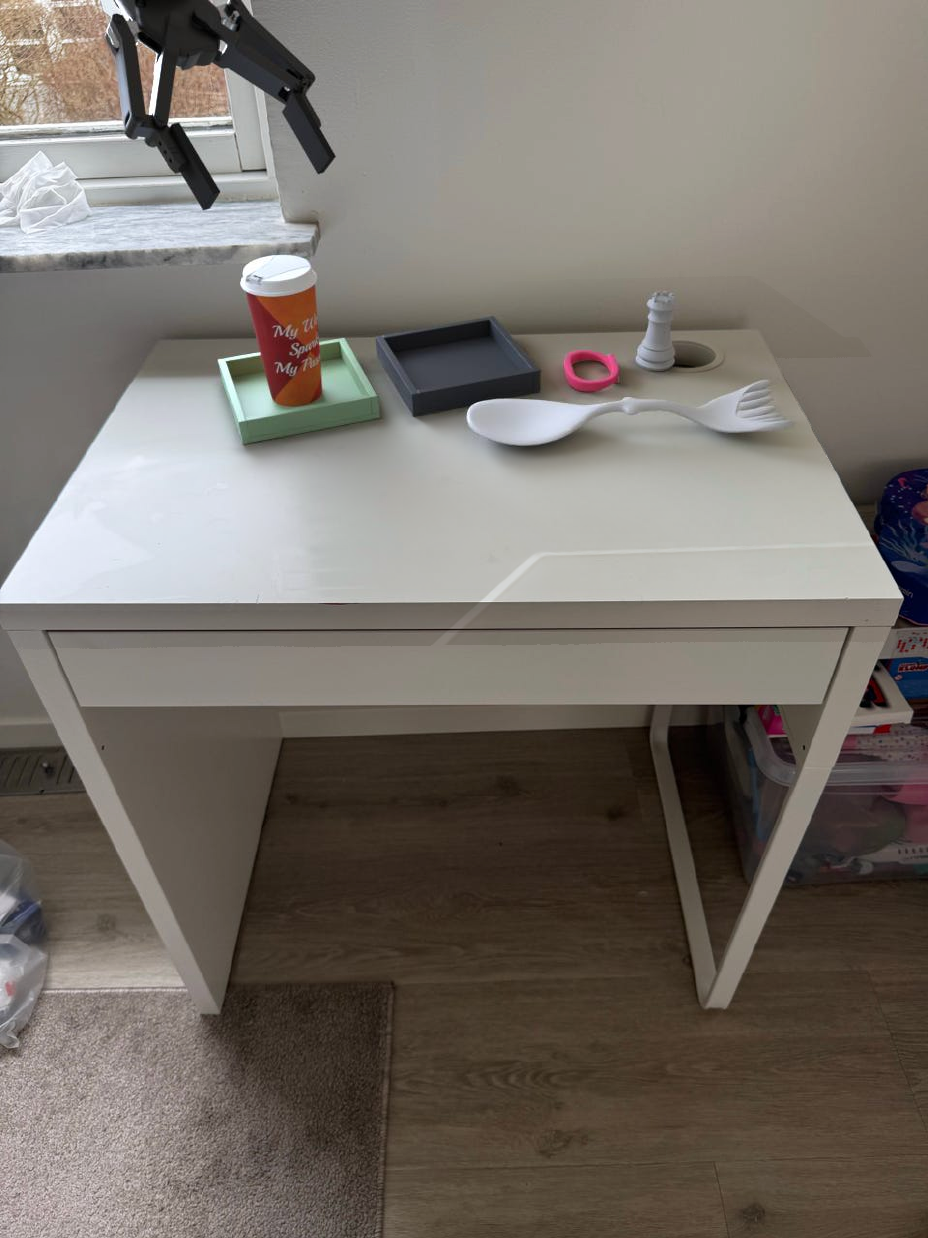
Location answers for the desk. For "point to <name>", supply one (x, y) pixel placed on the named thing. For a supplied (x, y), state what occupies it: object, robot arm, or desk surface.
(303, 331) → the paper cup
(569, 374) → the fitness band
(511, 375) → the charcoal tray
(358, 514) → the desk surface
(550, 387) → the desk surface
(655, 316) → the rook chess piece
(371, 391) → the sage tray
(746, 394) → the spoon
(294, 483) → the desk surface
